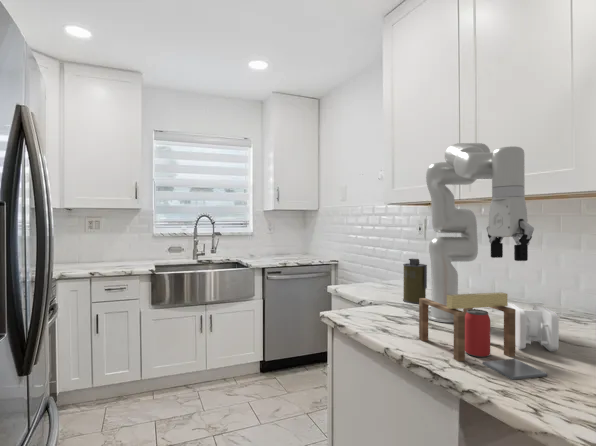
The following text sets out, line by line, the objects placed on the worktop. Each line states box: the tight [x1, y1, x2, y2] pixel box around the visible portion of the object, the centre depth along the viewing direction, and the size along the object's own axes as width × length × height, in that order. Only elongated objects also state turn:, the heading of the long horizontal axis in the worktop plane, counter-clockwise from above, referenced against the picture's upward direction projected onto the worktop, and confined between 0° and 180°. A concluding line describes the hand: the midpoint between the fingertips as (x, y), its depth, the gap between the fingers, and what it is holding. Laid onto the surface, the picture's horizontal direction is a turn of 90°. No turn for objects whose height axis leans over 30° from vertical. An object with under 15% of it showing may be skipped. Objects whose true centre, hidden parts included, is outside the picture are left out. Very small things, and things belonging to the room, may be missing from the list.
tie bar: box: [447, 291, 508, 310], centre depth 106 cm, size 2×18×4 cm, turn 103°
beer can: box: [465, 308, 491, 358], centre depth 106 cm, size 7×7×12 cm
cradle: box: [418, 298, 516, 362], centre depth 111 cm, size 20×18×13 cm
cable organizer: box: [505, 302, 560, 353], centre depth 113 cm, size 15×11×12 cm
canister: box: [402, 258, 428, 304], centre depth 176 cm, size 11×10×20 cm
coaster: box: [481, 358, 548, 381], centre depth 94 cm, size 10×10×1 cm
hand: (508, 259), depth 99 cm, fingers open, 9 cm apart
